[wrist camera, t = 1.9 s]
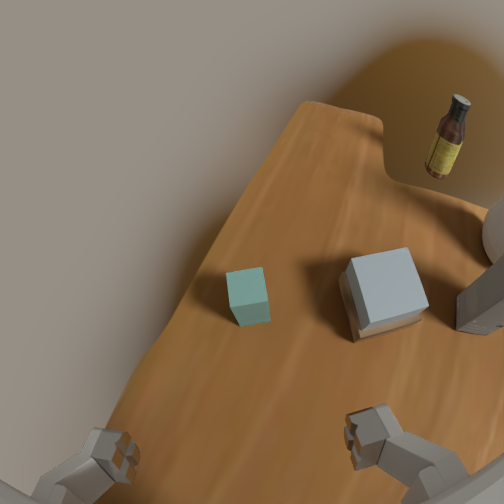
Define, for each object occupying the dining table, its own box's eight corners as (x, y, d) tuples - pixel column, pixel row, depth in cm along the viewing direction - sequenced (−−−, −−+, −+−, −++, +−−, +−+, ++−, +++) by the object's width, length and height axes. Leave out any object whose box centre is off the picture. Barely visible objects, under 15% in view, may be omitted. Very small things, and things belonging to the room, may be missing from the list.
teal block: (270, 321, 40) (268, 300, 33) (240, 326, 40) (229, 307, 33) (265, 293, 43) (262, 266, 35) (236, 298, 43) (225, 273, 35)
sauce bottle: (450, 180, 51) (483, 112, 33) (431, 181, 51) (463, 108, 33) (437, 160, 54) (464, 93, 37) (418, 160, 54) (443, 89, 37)
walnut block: (410, 326, 38) (421, 319, 34) (353, 343, 38) (360, 337, 34) (392, 270, 43) (400, 258, 39) (337, 282, 43) (341, 271, 39)
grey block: (417, 315, 35) (429, 305, 31) (361, 330, 35) (370, 322, 31) (398, 260, 39) (407, 247, 36) (345, 271, 39) (351, 258, 36)
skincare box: (454, 331, 36) (514, 294, 22) (455, 291, 39) (507, 244, 25) (488, 336, 34) (548, 303, 20) (488, 299, 37) (541, 258, 23)
